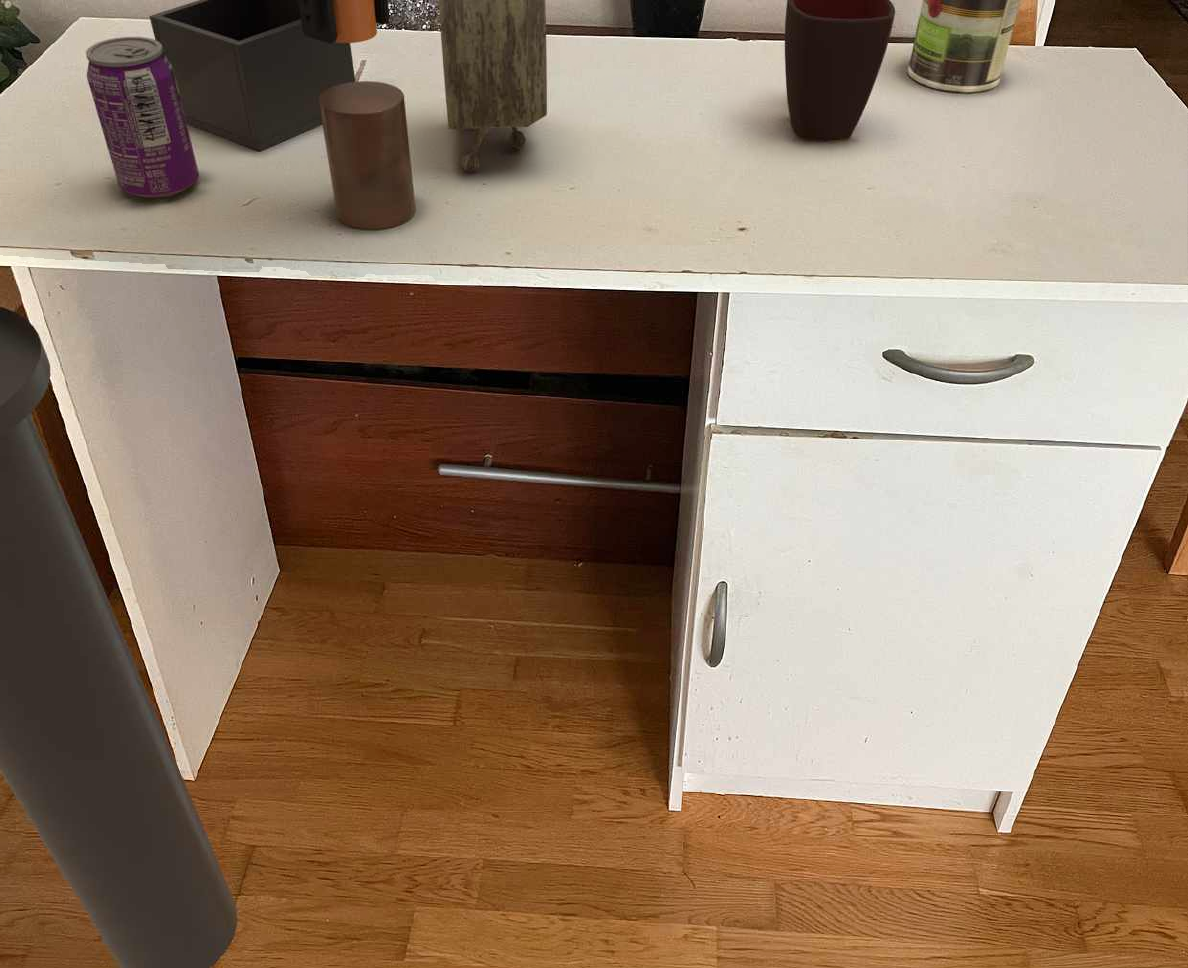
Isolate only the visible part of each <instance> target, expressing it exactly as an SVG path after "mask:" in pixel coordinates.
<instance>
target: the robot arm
mask: <svg viewBox="0 0 1188 968" xmlns="http://www.w3.org/2000/svg"><path fill="white" fill-rule="evenodd" d="M298 2H299V9H300V15H301V22H302V28H303V33H304V34H305V36H307V37H310V38H313V39H316V40H319V41H322V42H325V43H328V44H331V43H334V42H336V40H337V30H336V22H335V14H334V6H333V0H298ZM374 7H375V17H376V24H379V25H383V26H384V25H386V24H387V25H388V24H389V23H390V21H391V17H390V5H389V0H374Z"/></svg>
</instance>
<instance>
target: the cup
mask: <svg viewBox="0 0 1188 968" xmlns="http://www.w3.org/2000/svg"><path fill="white" fill-rule="evenodd" d="M895 16H896V9H895V6H894V3H893V2H892V1H891V0H786V7H785V19H784V22H785V23H784V67H785V87H786V99H787V100H786V101H787V108H788V114H789V120H790V126H791V129H792V130H793V132H794V133H795V135H796V136H797V137H799V138H800V139H802V140H803V141H811V142H813V141H814V142H837V141H839V142H840V141H843V140H844V141H845V140H849V139H850V138H851V136H852V135H853V133H854V131H855V130H856V127H857V126H858V123H859V121H860V120H861V118H862V115H863V113H864V111H865V109H866V106H867V104H868V102H869V99H870V96H871V94H872V92H873V89H874V86H875V83H876V80H877V78H878V75H879V72H880V69H881V66H882V64H883V62H884V58H885V56H886V55H885V54H886V52H887V49H888V46H889V41H890V37H891V34H892V31H893V30H892V29H893V26H894V25H893V24H894V21H895Z"/></svg>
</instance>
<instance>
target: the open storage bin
mask: <svg viewBox="0 0 1188 968" xmlns="http://www.w3.org/2000/svg"><path fill="white" fill-rule="evenodd" d="M149 21H150V25H151V28H152V32H153V37H154V40H156V41H158V42H160V43H161V45H162V48H163V54H164V55H165V56H166V58H167V59H168V60H169V62H170V63H171V65H172V67H173V70H174V74H175V78H176V82H177V86H178V90H179V94H180V98H181V102H182V107H183V111H184V115H185V119H186V123H187V125H188V126H192V127H194V128H197V129H200V130H202V131H205V132H208V133H210V134H212V135H216V136H218V137H219V138H223V139H226V140H228V141H231V142H234V143H237V144H239V145H241V146H244V147H246V148H249V149H252V150H256V151H257V152H262V151H264V150H266V149H269V148H271V147H273V146H275V145H278V144H280V143H282V142H285V141H286V140H289V139H291V138H294V137H296V136H298V135H300V134H302V133H305V132H307V131H310V130H312V129H314V128H317V127H318V126H321V125H323V124H322V118H321V112H320V105H319V97H320V95H321V94H322V93H323V92H324V91H326V90H327V89H329V88H331V87H334V86H337V85H340V84H345V83H350V82H356V76H355V69H354V60H353V54H352V46H351V43H336V42H334V43H331V44H328V43H325V42H322V41H319V40H316V39H313V38H310V37H307V36H305V34H304V33H303V28H302V22H301V15H300V9H299V2H298V0H195V1H192V2H189V3H185V4H182V5H178V6H177V7H174V8H171V9H168V10H164V11H161V12H158V13H154V14H152V15H149Z"/></svg>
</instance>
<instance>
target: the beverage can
mask: <svg viewBox="0 0 1188 968" xmlns="http://www.w3.org/2000/svg"><path fill="white" fill-rule="evenodd" d="M85 55H86V59H87V60H88V65H87V70H86V79H87V83H88V86H89V90H90V94H91V97H92V100H93V103H94V107H95V110H96V113H97V116H98V121H99V123H100V127H101V129H102V133H103V137H104V140H105V143H106V147H107V150H108V154H109V157H110V160H111V165H112V168H113V172H114V174H115V178H116V180H117V184H118V187H119V188H120V189H121V190H122V191H124V192H126V193H128V194H130V195H135V196H139V197H141V198H146V199H163V198H169V197H173V196H176V195H178V194H181V193H183V192H184V191H185V190H187V189H188V188H190V187H191V186H192V185H194V184H195V183H196V182H197V180H199V177H200V172H199V168H198V165H197V160H196V156H195V151H194V148H193V143H192V140H191V135H190V132H189V128H188V124H187V123H186V119H185V115H184V111H183V107H182V102H181V98H180V94H179V90H178V86H177V82H176V78H175V74H174V70H173V67H172V65H171V63H170V62H169V60H168V59H167V58H166V56H165V55H164V54H163V48H162V45H161V43H160V42H158V41H156V40H155V38H150V37H146V36H145V37H144V36H122V37H121V36H120V37H114V38H109V39H104V40H102V41H99V42H97V43H94V44H92V45H91V46H89V47H88V48H87V49H86V50H85Z"/></svg>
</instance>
